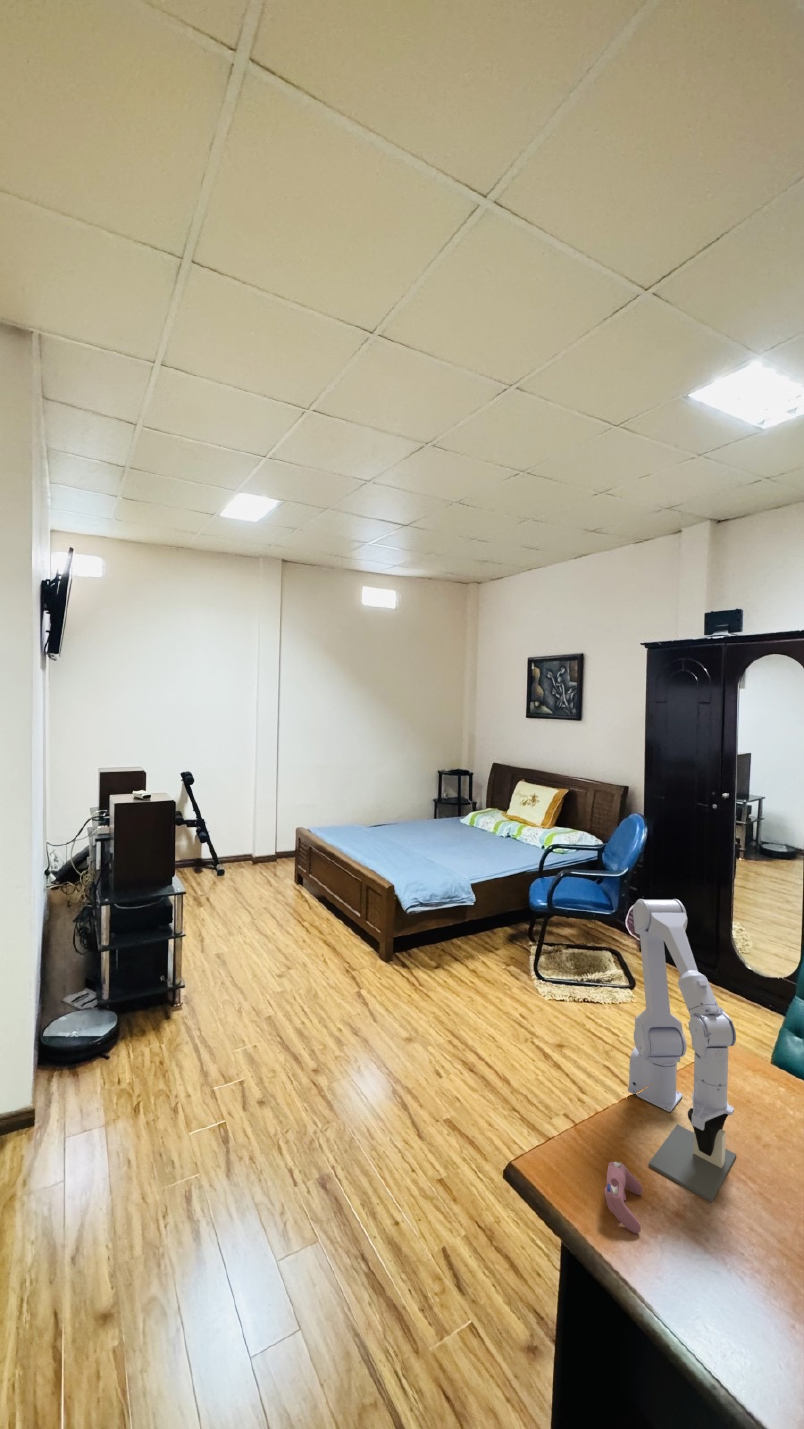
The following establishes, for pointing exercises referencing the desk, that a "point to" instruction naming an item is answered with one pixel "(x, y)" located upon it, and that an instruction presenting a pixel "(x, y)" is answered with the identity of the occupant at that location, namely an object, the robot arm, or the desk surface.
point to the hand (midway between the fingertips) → (708, 1146)
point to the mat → (690, 1164)
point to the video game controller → (621, 1194)
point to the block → (718, 1151)
